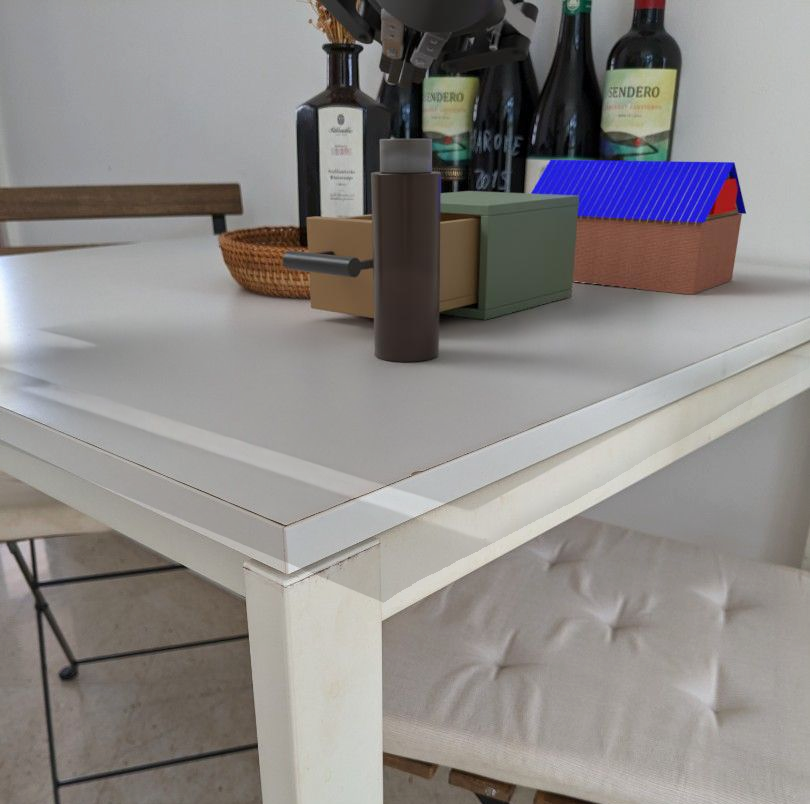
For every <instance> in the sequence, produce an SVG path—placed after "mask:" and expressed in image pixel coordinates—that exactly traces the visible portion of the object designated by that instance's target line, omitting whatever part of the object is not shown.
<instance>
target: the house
mask: <svg viewBox="0 0 810 804" xmlns="http://www.w3.org/2000/svg"><path fill="white" fill-rule="evenodd" d="M739 180H740V179H739V176H738V171H737V168H736V163H735V162H733V161H677V160H676V161H673V160H672V161H671V160H668V161H667V160H659V161H658V160H605V159H604V160H600V159H593V160H592V159H584V160H583V159H550V160H549V161H548V163H547V164H546V166H545V169H544V170H543V172H542V174H541V175H540V177H539V179H538V181H537V182H536V184H535V185H534V187H533V189H532V191H531V192H530V194H553V195H577V196H579V204H578V218H577V232H576V245H575V258H574V271H573V281H578V282H585V283H596V284H604V285H611V286H610V287H614V286H619V287H618V288H623V287H626V288H625V289H633V288H636V289H635V290H643V291H654V292H664V293H673V294H683V295H696V294H698V293H700V292H703V291H706V290H708V289H712V288H714V287H716V286H719V285H722V284H725V283H728V282H730V281H732V280H733V274H734V268H735V263H736V262H735V261H736V256H737V250H738V249H737V248H738V243H739V235H740V229H741V223H742V217H743V214H745V215H746V214H747V212H746V206H745V202H744V198H743V193H742V190H741V185H740V181H739ZM604 285H603V286H604Z"/></svg>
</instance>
